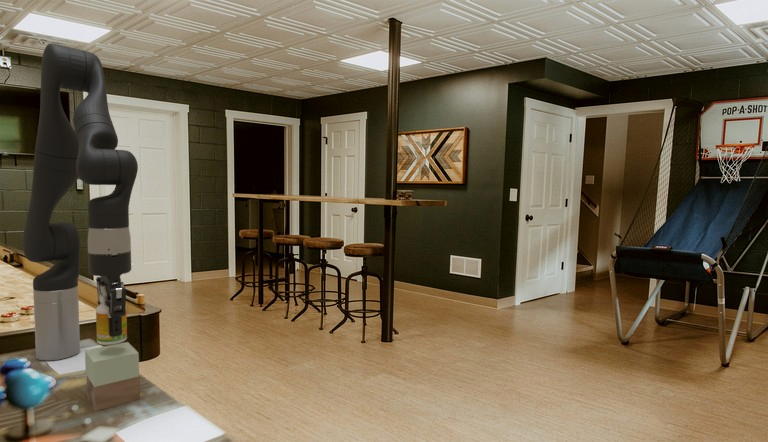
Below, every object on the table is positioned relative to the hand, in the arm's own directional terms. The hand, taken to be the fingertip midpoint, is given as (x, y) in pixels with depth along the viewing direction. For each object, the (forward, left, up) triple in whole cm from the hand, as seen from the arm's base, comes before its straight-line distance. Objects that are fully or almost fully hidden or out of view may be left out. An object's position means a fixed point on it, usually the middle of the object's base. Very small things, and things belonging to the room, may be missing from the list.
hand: (111, 331), depth 98 cm
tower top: (0, 0, -9) cm, 9 cm away
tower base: (0, 0, -14) cm, 14 cm away
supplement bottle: (0, 0, -2) cm, 2 cm away
